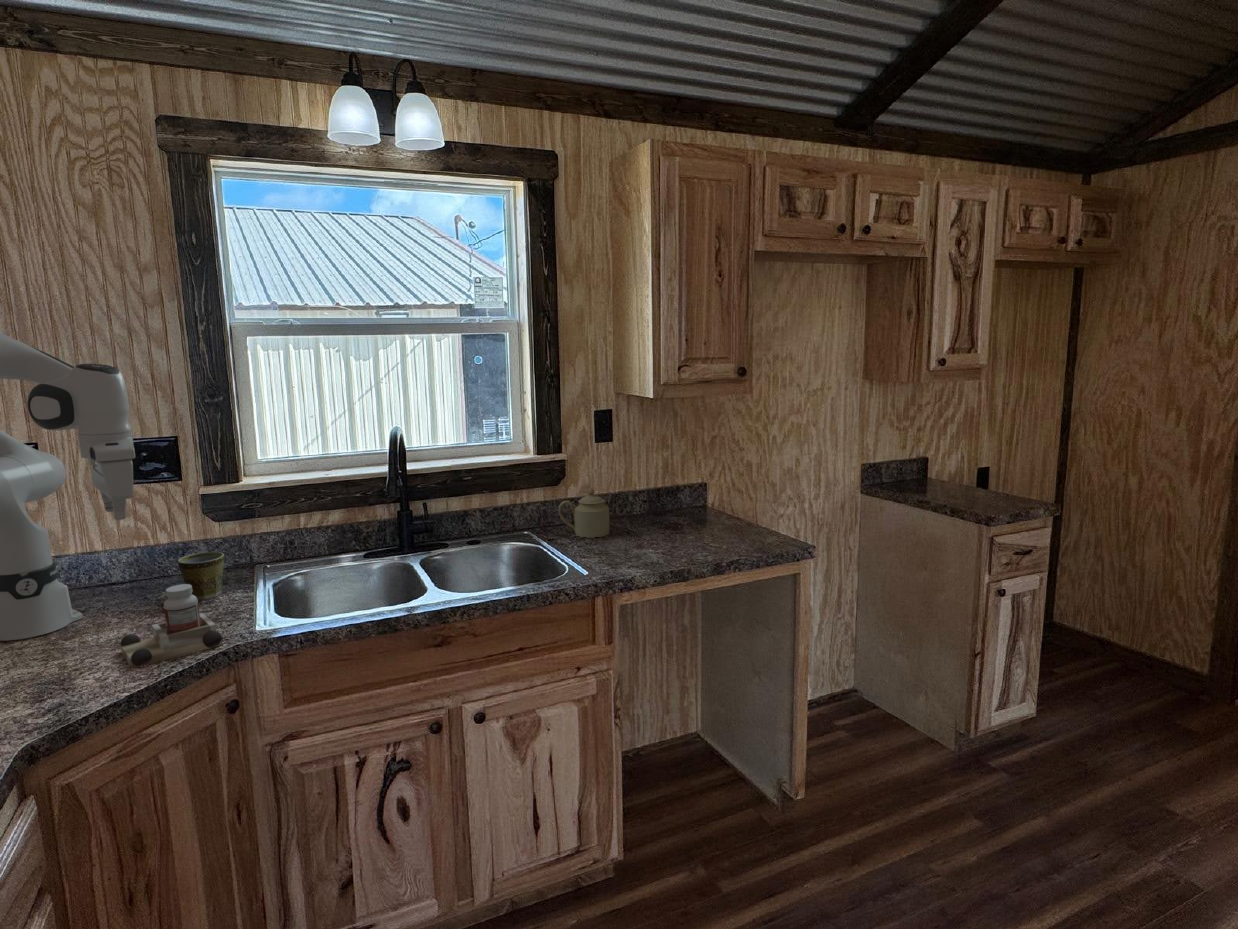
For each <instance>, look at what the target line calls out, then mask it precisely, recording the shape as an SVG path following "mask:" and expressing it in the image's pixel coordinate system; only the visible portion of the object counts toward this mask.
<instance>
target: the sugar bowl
mask: <svg viewBox="0 0 1238 929" xmlns="http://www.w3.org/2000/svg"><path fill="white" fill-rule="evenodd" d="M587 493H588V495H586V496H585V495H584V496H583V497H581V498H580V499H579V500H578V501H577V502H578V505H577V506H575V505H574V504H573V503H572V502H571V501H570V500H563V501H562V502H561V503H559V505H558V515H559V516H560V518H561V520H562V521H563V522H564V523H565V525H567V526H569V527H570V528H572V529H573V531H574V534H576V535H575V536H576V537H578V536H579V538H582V537H586V538H585V539H596V538H595V537H599V538H603V537H607V536H608V535H609V534H610V508H609V506H608V505H606V504H605V503H604V502H606V500H605V499H604V498H603V497H600V496H598V495H595V490H594V488H593V487H590V488H588V492H587ZM566 504H567V505H568V506H569V507H570V509H571V512H572V516H573V518H574V519H573V520H574V521H573V522H574V523H573V524H572V523H571V522H570V521H569V520H567V519H566V518H565V516H564V514H563V510H562V508H563V506H564V505H566ZM606 535H607V536H606Z"/></svg>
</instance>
